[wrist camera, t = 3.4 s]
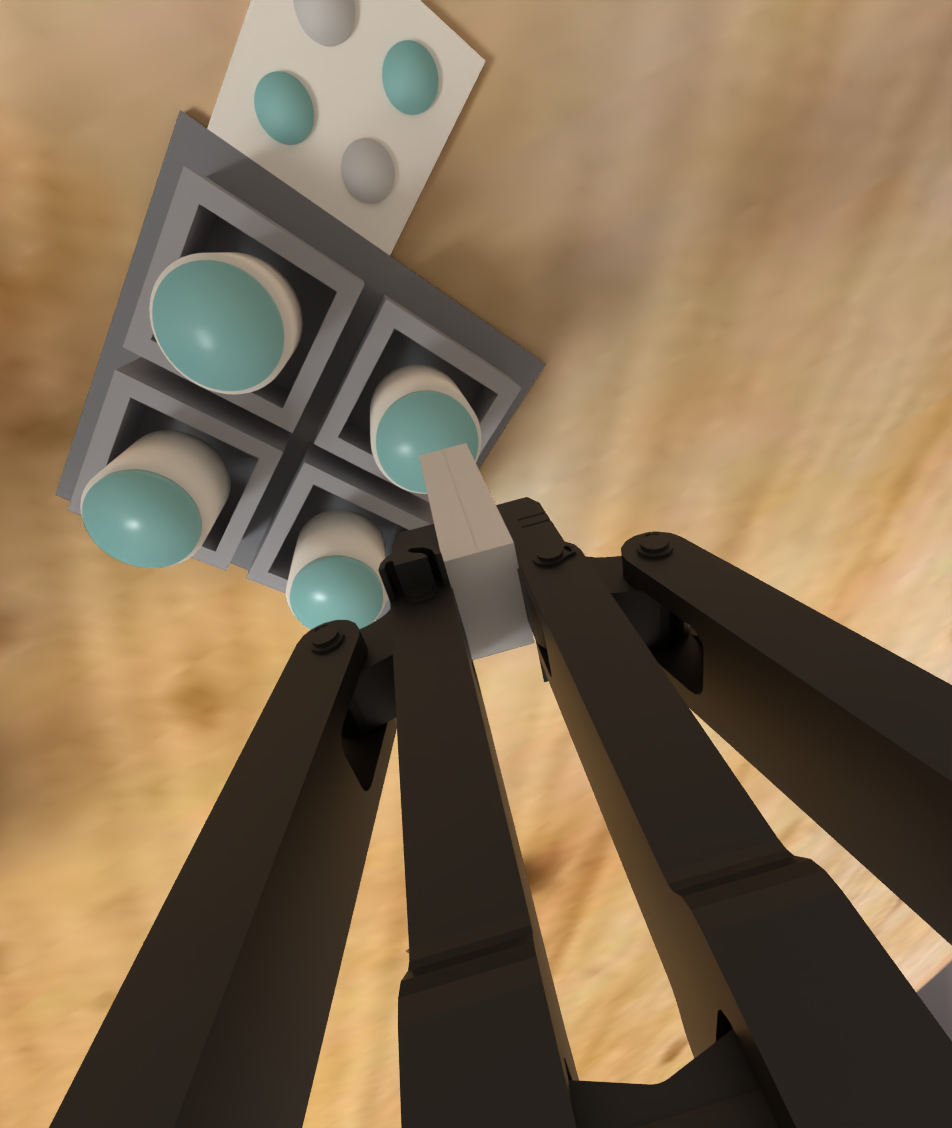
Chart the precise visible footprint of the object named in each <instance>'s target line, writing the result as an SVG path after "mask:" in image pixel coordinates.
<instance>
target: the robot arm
mask: <svg viewBox="0 0 952 1128" xmlns="http://www.w3.org/2000/svg"><path fill="white" fill-rule="evenodd" d="M419 458H420V463H421V467H422V472H423V476H424V481H425V485H426V490H427V494H428V498H429V503H430V507H431V512H432V516H433V521H434V524H431V525H427V526H423V527H420V528H416V529H412V530H409V531H405V532H401V533H399V534H398V536H397V538H396V539H395V541H394V542H393V544H392V546H393V553H391V554H390V555H388V556H387V557H386V558H385V559H384V560H383V561H382V562H381V563H380V566H379V569H378V571H379V574H380V577H381V579H382V582H383V585H384V587H385V590H386V593H387V595H388V598H389V601H390V610H389V611H388V612H387V613H386V614H385V615H384V616H382V617H381V618H380V619H378V620H377V621H375V622H373V623H371V624H369V625H367V626H365V627H363V628H361V629H359V628H358V626H357V625H356V623H354V622H352V621H349V620H334V621H330V622H325V623H323V624H321V625H318V626H316V627H315V628H313V629H312V630H310V631H309V632H308V633H306V634H305V635H304V636H303V637H302V638H301V640H300V641H299V642H298V644H297V645H296V647H295V649H294V651H293V653H292V655H291V657H290V659H289V661H288V662H287V664H286V666H285V668H284V670H283V672H282V674H281V676H280V678H279V680H278V682H277V684H276V686H275V688H274V690H273V692H272V694H271V696H270V698H269V700H268V701H267V703H266V705H265V707H264V709H263V711H262V713H261V715H260V717H259V719H258V721H257V723H256V725H255V727H254V729H253V731H252V733H251V735H250V737H249V739H248V741H247V742H246V744H245V746H244V748H243V750H242V752H241V754H240V756H239V758H238V760H237V762H236V764H235V766H234V768H233V770H232V772H231V774H230V776H229V778H228V780H227V781H226V783H225V785H224V787H223V789H222V791H221V793H220V795H219V797H218V799H217V801H216V803H215V805H214V807H213V809H212V811H211V813H210V815H209V817H208V819H207V820H206V822H205V824H204V826H203V828H202V830H201V832H200V834H199V836H198V838H197V840H196V842H195V844H194V846H193V848H192V850H191V852H190V854H189V856H188V858H187V859H186V861H185V863H184V865H183V867H182V869H181V871H180V873H179V875H178V877H177V879H176V881H175V883H174V885H173V887H172V889H171V891H170V893H169V895H168V897H167V898H166V900H165V902H164V904H163V906H162V908H161V910H160V912H159V914H158V916H157V918H156V920H155V922H154V924H153V926H152V928H151V930H150V932H149V934H148V936H147V937H146V939H145V941H144V943H143V945H142V947H141V949H140V951H139V953H138V955H137V957H136V959H135V961H134V963H133V965H132V967H131V969H130V971H129V973H128V975H127V977H126V978H125V980H124V982H123V984H122V986H121V988H120V990H119V992H118V994H117V996H116V998H115V1000H114V1002H113V1004H112V1006H111V1008H110V1010H109V1012H108V1014H107V1016H106V1017H105V1019H104V1021H103V1023H102V1025H101V1027H100V1029H99V1031H98V1033H97V1035H96V1037H95V1039H94V1041H93V1043H92V1045H91V1047H90V1049H89V1051H88V1053H87V1055H86V1056H85V1058H84V1060H83V1062H82V1064H81V1066H80V1068H79V1070H78V1072H77V1074H76V1076H75V1078H74V1080H73V1082H72V1084H71V1086H70V1088H69V1090H68V1092H67V1094H66V1095H65V1097H64V1099H63V1101H62V1103H61V1105H60V1107H59V1109H58V1111H57V1113H56V1115H55V1117H54V1119H53V1121H52V1123H51V1125H50V1127H49V1128H302V1126H303V1122H304V1118H305V1113H306V1109H307V1105H308V1101H309V1097H310V1092H311V1088H312V1084H313V1080H314V1075H315V1071H316V1067H317V1063H318V1059H319V1054H320V1050H321V1046H322V1042H323V1037H324V1033H325V1029H326V1025H327V1021H328V1016H329V1012H330V1008H331V1004H332V999H333V995H334V991H335V987H336V983H337V978H338V974H339V970H340V966H341V961H342V957H343V953H344V949H345V945H346V940H347V936H348V932H349V928H350V924H351V919H352V915H353V911H354V907H355V902H356V898H357V894H358V890H359V886H360V881H361V877H362V873H363V869H364V864H365V860H366V856H367V852H368V848H369V843H370V839H371V835H372V831H373V826H374V822H375V818H376V814H377V810H378V805H379V801H380V797H381V793H382V788H383V784H384V780H385V776H386V772H387V767H388V763H389V759H390V755H391V750H392V746H393V742H394V738H395V734H396V729H397V736H398V754H399V772H400V790H401V808H402V826H403V844H404V862H405V880H406V898H407V916H408V934H409V968H408V972H407V973H406V975H405V976H404V978H403V979H402V980H401V984H400V990H399V997H398V1041H399V1069H400V1097H401V1125H402V1128H952V1041H951V1040H950V1039H949V1037H948V1036H947V1035H946V1033H945V1032H944V1030H943V1029H942V1028H941V1026H940V1025H939V1023H938V1022H937V1021H936V1019H935V1018H934V1017H933V1015H932V1014H931V1012H930V1011H929V1010H928V1008H927V1007H926V1006H925V1004H924V1003H923V1002H922V1000H921V999H920V997H919V996H918V995H917V993H916V992H915V990H914V989H913V988H912V986H911V985H910V983H909V982H908V981H907V979H906V978H905V977H904V975H903V974H902V972H901V971H900V970H899V968H898V967H897V966H896V964H895V963H894V961H893V960H892V959H891V957H890V956H889V955H888V953H887V952H886V950H885V949H884V948H883V946H882V945H881V944H880V942H879V941H878V939H877V938H876V937H875V935H874V934H873V933H872V931H871V930H870V928H869V927H868V926H867V924H866V923H865V922H864V920H863V919H862V917H861V916H860V915H859V913H858V912H857V911H856V909H855V908H854V906H853V905H852V904H851V902H850V901H849V900H848V898H847V897H846V895H845V894H844V893H843V891H842V890H841V889H840V888H839V886H838V885H837V884H836V883H835V882H834V881H833V879H832V878H831V877H830V876H829V875H828V873H827V872H826V871H825V870H824V869H823V868H821V867H820V866H819V865H818V864H816V863H815V862H814V861H813V860H811V859H808V858H803V857H798V856H794V855H793V854H792V853H790V852H789V851H788V850H787V849H786V848H785V847H784V845H783V844H782V843H781V842H780V840H779V839H778V838H777V836H776V835H775V833H774V832H773V830H772V829H771V828H770V826H769V825H768V823H767V822H766V820H765V819H764V817H763V816H762V814H761V813H760V811H759V810H758V808H757V807H756V806H755V804H754V803H753V801H752V800H751V798H750V797H749V795H748V794H747V792H746V791H745V789H744V788H743V787H742V785H741V784H740V782H739V781H738V779H737V778H736V776H735V775H734V773H733V772H732V770H731V769H730V767H729V766H728V765H727V763H726V762H725V760H724V759H723V757H722V756H721V754H720V753H719V751H718V750H717V748H716V747H715V746H714V744H713V743H712V741H711V740H710V738H709V737H708V735H707V734H706V732H705V731H704V729H703V728H702V726H701V725H700V724H699V722H698V721H697V719H696V718H695V716H694V715H693V713H692V712H691V710H692V711H693V712H694V713H695V714H697V715H698V716H699V717H700V718H701V719H702V720H703V721H704V722H705V723H706V724H708V725H709V726H710V727H711V728H712V729H713V730H714V731H715V732H716V733H718V734H719V735H720V736H721V737H722V738H723V739H724V740H725V741H726V742H728V743H729V744H730V745H731V746H732V747H733V748H734V749H735V750H736V751H737V752H739V753H740V754H741V755H742V756H743V757H744V758H745V759H746V760H747V761H749V762H750V763H751V764H752V765H753V766H754V767H755V768H756V769H757V770H758V771H760V772H761V773H762V774H763V775H764V776H765V777H766V778H767V779H768V780H770V781H771V782H772V783H773V784H774V785H775V786H776V787H777V788H778V789H779V790H781V791H782V792H783V793H784V794H785V795H786V796H787V797H788V798H789V799H791V800H792V801H793V802H794V803H795V804H796V805H797V806H798V807H799V808H800V809H802V810H803V811H804V812H805V813H806V814H807V815H808V816H809V817H810V818H812V819H813V820H814V821H815V822H816V823H817V824H818V825H819V826H820V827H821V828H823V829H824V830H825V831H826V832H827V833H828V834H829V835H830V836H831V837H833V838H834V839H835V840H836V841H837V842H838V843H839V844H840V845H841V846H842V847H844V848H845V849H846V850H847V851H848V852H849V853H850V854H851V855H852V856H854V857H855V858H856V859H857V860H858V861H859V862H860V863H861V864H862V865H863V866H865V867H866V868H867V869H868V870H869V871H870V872H871V873H872V874H873V875H875V876H876V877H877V878H878V879H879V880H880V881H881V882H882V883H883V884H884V885H886V886H887V887H888V888H889V889H890V890H891V891H892V892H893V893H894V894H896V895H897V896H898V897H899V898H900V899H901V900H902V901H903V902H904V903H905V904H907V905H908V906H909V907H910V908H911V909H912V910H913V911H914V912H915V913H917V914H918V915H919V916H920V917H921V918H922V919H923V920H924V921H925V922H926V923H928V924H929V925H930V926H931V927H932V928H933V929H934V930H935V931H936V932H938V933H939V934H940V935H941V936H942V937H943V938H944V939H945V940H946V941H947V942H949V943H950V944H951V945H952V685H951V684H949V683H947V682H945V681H943V680H941V679H940V678H938V677H936V676H934V675H932V674H930V673H929V672H927V671H925V670H923V669H921V668H920V667H918V666H916V665H914V664H912V663H910V662H909V661H907V660H905V659H903V658H901V657H899V656H898V655H896V654H894V653H892V652H890V651H889V650H887V649H885V648H883V647H881V646H879V645H878V644H876V643H874V642H872V641H870V640H868V639H867V638H865V637H863V636H861V635H859V634H858V633H856V632H854V631H852V630H850V629H848V628H847V627H845V626H843V625H841V624H839V623H837V622H836V621H834V620H832V619H830V618H828V617H826V616H825V615H823V614H821V613H819V612H817V611H816V610H814V609H812V608H810V607H808V606H806V605H805V604H803V603H801V602H799V601H797V600H795V599H794V598H792V597H790V596H788V595H786V594H785V593H783V592H781V591H779V590H777V589H775V588H774V587H772V586H770V585H768V584H766V583H764V582H763V581H761V580H759V579H757V578H755V577H754V576H752V575H750V574H748V573H746V572H744V571H743V570H741V569H739V568H737V567H735V566H733V565H732V564H730V563H728V562H726V561H724V560H722V559H721V558H719V557H717V556H715V555H713V554H712V553H710V552H708V551H706V550H704V549H702V548H701V547H699V546H697V545H695V544H693V543H691V542H690V541H688V540H686V539H684V538H682V537H680V536H677V535H675V534H672V533H666V532H647V533H643V534H640V535H636V536H634V537H632V538H630V539H629V540H627V541H626V542H625V543H624V544H623V546H622V547H621V553H622V556H617V557H602V558H594V557H586V556H585V555H584V554H583V552H582V551H581V549H579V548H578V547H577V546H576V545H574V544H571V543H568V542H565V541H564V540H563V538H562V537H561V535H560V534H559V532H558V531H557V529H556V528H555V526H554V525H553V523H552V521H550V518H549V517H548V515H547V514H546V513H545V511H544V509H543V508H542V506H541V505H540V503H539V502H536V501H534V500H532V499H530V498H528V497H525V498H521V499H518V500H514V501H510V502H507V503H503V504H499V505H496V504H495V502H494V500H493V498H492V496H491V494H490V492H489V490H488V488H487V486H486V484H485V481H484V479H483V477H482V475H481V473H480V471H479V469H478V467H477V465H476V463H475V461H474V459H473V456H472V454H471V452H470V450H469V448H468V446H467V444H466V443H464V444H461V445H457V446H453V447H449V448H446V449H442V450H438V451H434V452H431V453H427V454H423V455H419ZM532 632H533V634H534V637H535V639H536V644H537V649H538V654H539V659H540V664H541V669H542V674H543V679H544V682H547V681H549V683H550V685H551V688H552V690H553V693H554V695H555V698H556V700H557V703H558V705H559V708H560V710H561V713H562V715H563V718H564V720H565V723H566V725H567V728H568V730H569V733H570V735H571V738H572V740H573V743H574V745H575V748H576V750H577V753H578V755H579V758H580V760H581V762H582V765H583V767H584V770H585V772H586V775H587V777H588V780H589V782H590V785H591V787H592V790H593V792H594V795H595V797H596V800H597V802H598V805H599V807H600V810H601V812H602V815H603V817H604V820H605V822H606V825H607V827H608V830H609V832H610V835H611V837H612V840H613V842H614V844H615V847H616V849H617V852H618V854H619V857H620V859H621V862H622V864H623V867H624V869H625V872H626V874H627V877H628V879H629V882H630V884H631V887H632V889H633V892H634V894H635V897H636V899H637V902H638V904H639V907H640V909H641V912H642V914H643V917H644V919H645V921H646V924H647V926H648V929H649V931H650V934H651V936H652V939H653V941H654V944H655V946H656V949H657V951H658V954H659V956H660V959H661V961H662V964H663V966H664V969H665V971H666V974H667V976H668V979H669V981H670V984H671V987H672V989H673V992H674V995H675V998H676V1001H677V1005H678V1008H679V1012H680V1015H681V1019H682V1023H683V1026H684V1030H685V1033H686V1036H687V1039H688V1042H689V1045H690V1047H691V1050H692V1053H693V1056H694V1058H695V1059H693V1060H692V1061H691V1062H689V1063H688V1064H687V1065H686V1066H684V1067H683V1068H682V1069H680V1070H679V1071H678V1072H677V1073H675V1074H674V1075H673V1076H671V1077H670V1078H669V1079H667V1080H666V1081H664V1082H662V1083H659V1084H653V1085H647V1084H629V1083H611V1082H593V1081H579V1079H578V1075H577V1071H576V1068H575V1064H574V1060H573V1056H572V1053H571V1049H570V1045H569V1042H568V1038H567V1034H566V1031H565V1027H564V1023H563V1019H562V1015H561V1011H560V1007H559V1003H558V999H557V995H556V991H555V987H554V983H553V979H552V975H551V971H550V967H549V963H548V959H547V955H546V951H545V947H544V943H543V939H542V935H541V931H540V927H539V923H538V919H537V915H536V911H535V907H534V903H533V899H532V895H531V891H530V887H529V883H528V879H527V875H526V871H525V867H524V863H523V859H522V855H521V851H520V847H519V843H518V838H517V834H516V830H515V826H514V822H513V818H512V814H511V810H510V806H509V802H508V798H507V794H506V790H505V786H504V782H503V778H502V774H501V770H500V766H499V762H498V758H497V754H496V750H495V746H494V742H493V738H492V734H491V730H490V726H489V722H488V718H487V714H486V710H485V706H484V702H483V698H482V694H481V690H480V686H479V682H478V678H477V674H476V671H475V667H474V664H473V660H475V659H479V658H482V657H486V656H490V655H493V654H497V653H500V652H504V651H508V650H511V649H515V648H518V647H522V646H525V645H529V644H533V643H534V639H533V634H532ZM689 708H690V709H691V710H690V709H689Z"/></svg>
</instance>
